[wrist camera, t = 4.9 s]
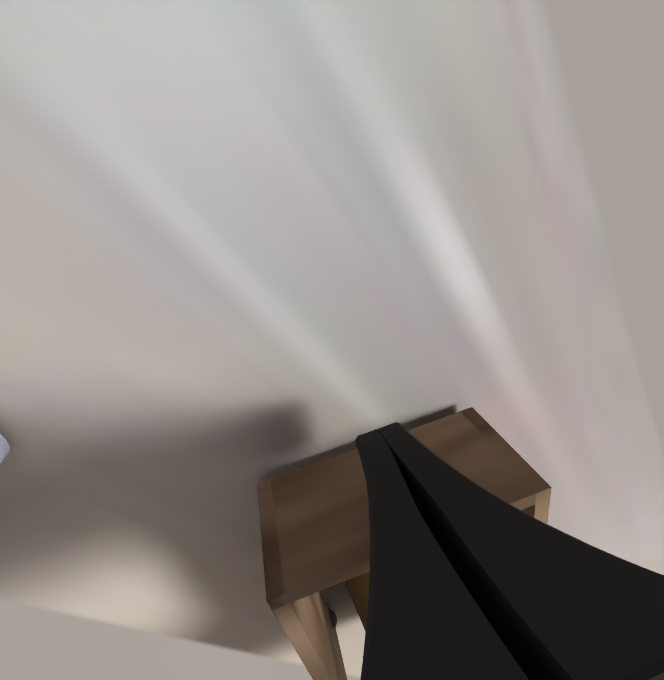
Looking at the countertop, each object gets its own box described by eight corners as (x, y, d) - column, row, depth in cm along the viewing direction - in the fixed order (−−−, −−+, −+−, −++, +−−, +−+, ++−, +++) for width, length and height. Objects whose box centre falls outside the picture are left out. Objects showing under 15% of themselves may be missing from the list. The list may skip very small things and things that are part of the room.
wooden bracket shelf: (250, 479, 13) (257, 604, 10) (472, 400, 14) (558, 484, 11) (319, 623, 19) (341, 741, 15) (478, 557, 20) (538, 651, 16)
